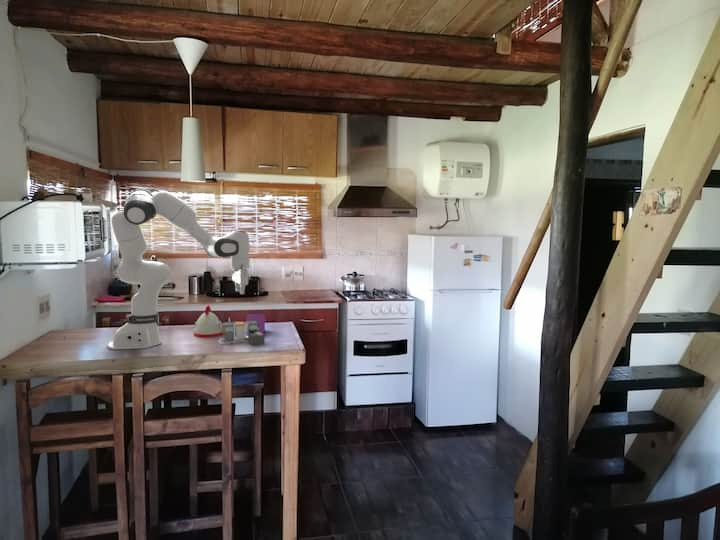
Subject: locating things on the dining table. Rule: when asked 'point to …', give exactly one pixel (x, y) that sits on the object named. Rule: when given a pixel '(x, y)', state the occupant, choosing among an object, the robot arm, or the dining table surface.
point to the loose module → (239, 330)
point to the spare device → (256, 339)
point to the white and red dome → (208, 325)
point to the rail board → (229, 332)
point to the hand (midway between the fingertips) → (239, 292)
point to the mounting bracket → (258, 321)
